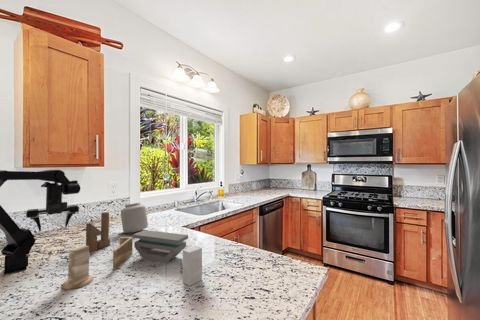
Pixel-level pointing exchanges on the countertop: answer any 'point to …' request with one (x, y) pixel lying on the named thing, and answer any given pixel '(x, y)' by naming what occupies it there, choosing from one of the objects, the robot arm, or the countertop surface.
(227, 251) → the countertop surface
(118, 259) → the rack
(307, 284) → the countertop surface
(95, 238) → the wooden block
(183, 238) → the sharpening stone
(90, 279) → the coaster
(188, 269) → the skincare box
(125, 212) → the jar
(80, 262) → the pale wood block
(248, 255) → the countertop surface
